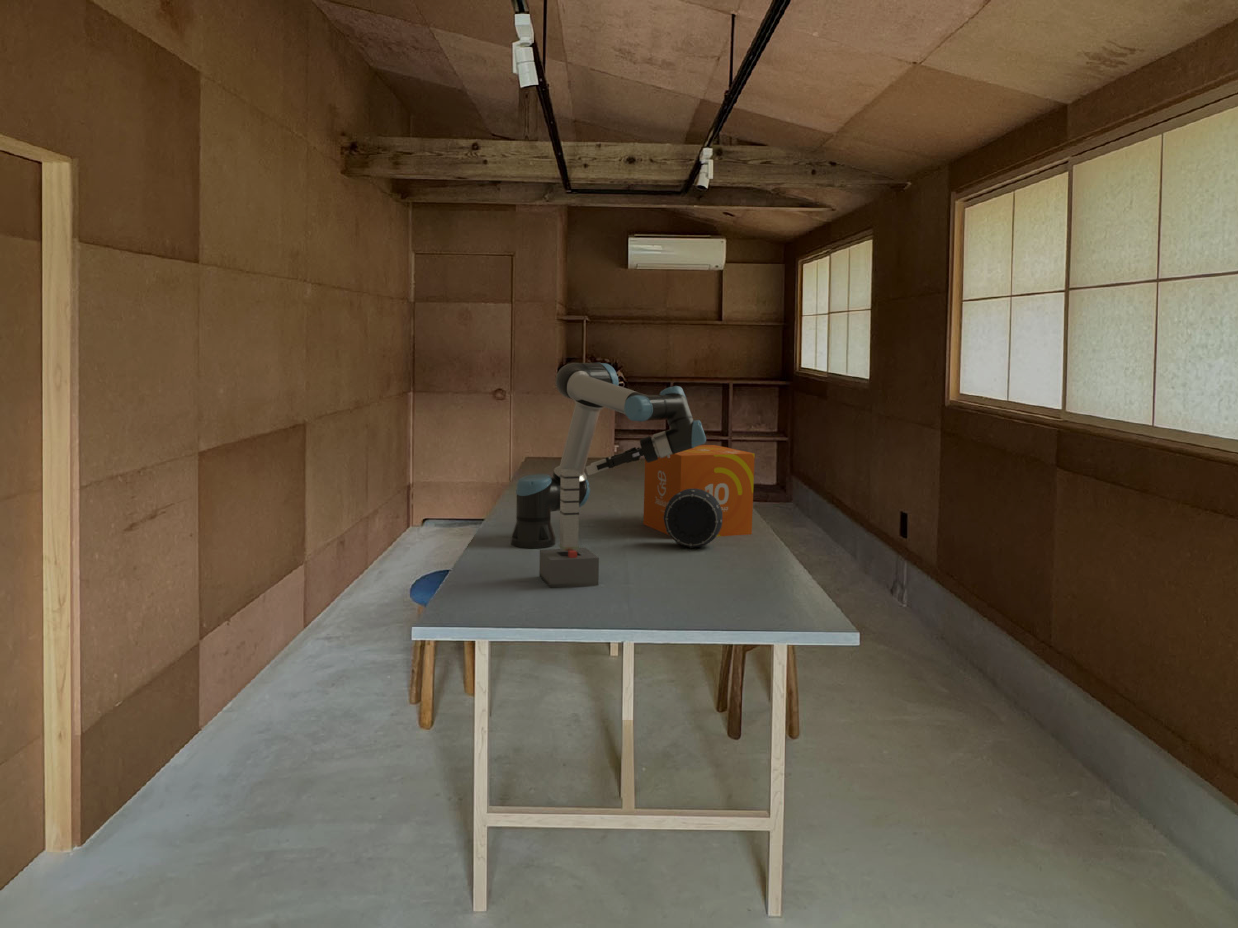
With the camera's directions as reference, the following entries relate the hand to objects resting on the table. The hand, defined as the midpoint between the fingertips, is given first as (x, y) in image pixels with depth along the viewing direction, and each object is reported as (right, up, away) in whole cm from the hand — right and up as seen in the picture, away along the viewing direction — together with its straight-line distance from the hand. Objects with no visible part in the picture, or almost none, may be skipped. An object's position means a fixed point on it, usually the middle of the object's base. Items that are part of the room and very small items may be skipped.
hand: (589, 469), depth 296 cm
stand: (-6, -32, -14) cm, 36 cm away
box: (+38, -23, +69) cm, 82 cm away
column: (-5, -23, -15) cm, 28 cm away
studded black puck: (+34, -27, +37) cm, 57 cm away
